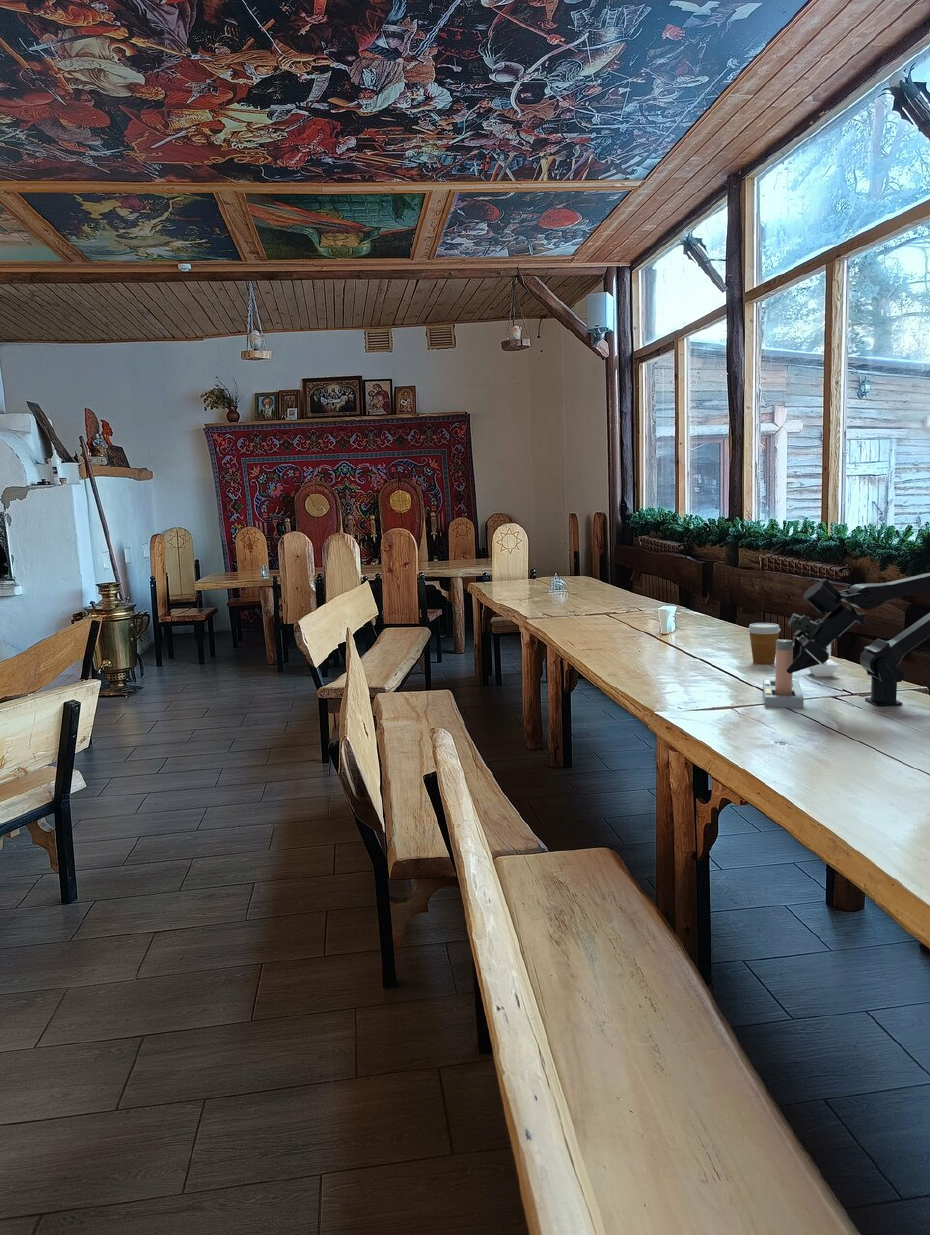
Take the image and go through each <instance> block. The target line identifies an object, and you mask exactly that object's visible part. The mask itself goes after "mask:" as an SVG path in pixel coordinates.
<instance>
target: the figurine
mask: <svg viewBox="0 0 930 1235" xmlns="http://www.w3.org/2000/svg"><path fill="white" fill-rule="evenodd" d="M826 651H827V652H828V653H829V657H831V656H832V643H831V644H830V645H829V646H828V647H827V650H826ZM818 662H819V663H820V665H815V666H812V667H808V668H807V669H808V670H809V671H810V674H811V675H813V676H815V677H819V678H820V677H833V675H834V674H835V672H836V671H837V669H838V667H839V666H840V664H839V663H837V662H835V661H833V660H832V659H828V660H827V661H826V662H825V663H824V664H822V663H821V662H820V661H818Z"/></svg>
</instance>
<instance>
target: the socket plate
mask: <svg viewBox="0 0 930 1235" xmlns="http://www.w3.org/2000/svg"><path fill="white" fill-rule="evenodd" d="M800 684H801V683H800V680H799V679H792V696H783V695H775V678H772V679H771V678H763V680H762V690H763V699H764V700H763V703H764V708H765V707H766V708H791V709H804V707H805V706H804V704H805V702H804V701H805V700H804V699H805V698H804V694H803V691H802V688H801V685H800Z"/></svg>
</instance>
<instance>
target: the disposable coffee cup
mask: <svg viewBox="0 0 930 1235" xmlns="http://www.w3.org/2000/svg"><path fill="white" fill-rule="evenodd" d="M747 630H748V632H749V638H750V647H751V657H752V663H753V664H756V665H763V666H765V665H766V666H767V665H773V664H775V663H776V640H779V634H780V632H781V628H780V625H779V623H778V624H777V623H773V622H755V623H750V624H749V626H748V628H747Z"/></svg>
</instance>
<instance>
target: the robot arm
mask: <svg viewBox="0 0 930 1235" xmlns="http://www.w3.org/2000/svg"><path fill="white" fill-rule="evenodd" d="M928 591H930V572H926V573H922V574H919V575H914V576H909V577H905V578H901V579H900V578H899V579H897V580H893V581H892V580H891V581H887V582H881V583H876V582H875V583H871V582H870V583H857V584H852V585H851V586H850V587H849V589H845V590H844V589H843V590H840V591H838V590H837V589H836V588H835V587H834V586H833V585H832V583H831V582H830V581H829V580H828V579H827V578H826V579H825V578H823V579H821V580H820V581H819V582H816V583H814V584H813V585H812V586H809V587H808V589H807V590H806V591H805V592H804V594H803V599H804V600H805V601H806V602H807V603H809V605H811V606H812V607H813V608H814V609H815V610H817V612H818V613H819V614H824V613H826V615H825V617H823V618H822V619H821V618H818V619H816V620H815V621H813V620H811V617H809V616H805V614H803V615H802V616H801V615H799V614H797V613H795V612H793V613H792V614H791V617H790V619H789V621H788V623H787V625H788V626H789V628H791V629H794V630H795V629H796V631H795V632H794V634H793V663H792V664H791V665H790V666H789V668H788V669H787V670H786V671H787V672H788V673H789V674H791V673H792V674H793V673H795V672H799V671H802V670H805V669H809V668H808V667H812V666H815V665H820V663H819V662H818V661H820V662H821V663H822V664H824V663H825V662H826V661H827V660H830V659H829V658H830V656H829V653H828V652H827V651H826V650H827V647H828V646H829V645H830V644H831V645H832V643H833V642H835V640H836V641H839V640H840V639H841V636H842V634H843V633H845V632H846V631H847V630H848V629H849V628H850V627H852V626H853V624H854V623H857V622H858V623H859V624H860V625H861V626H866V614H865V613H864V612H858V611H857V610H856V609H855V608H858V609H861V610H865V611H871V610H873V609H874V608H878V607H880V606H882V605H884V604H886V603H887V602H889V601H891V600H894V599H899V598H901V597H906V596H911V595H915V594H920V593H924V592H928ZM841 601H842V602H846V603H847V604H850V605H846V606H845V605H844V604H843V603H842V602H841ZM854 607H855V608H854ZM929 637H930V612H928V613H927V614H926V615H924V616H923V617H921V618H919V619H918V620H917V621H916V622H914V623H913V624H911V625H910V626H908V627H906V629H904V630H903V631H901V632H900V633H898V634H897V635H895V636H894V637H893V638H891V639H890V640H883V639H880V638H876V639H875V640H874V641H873V642H871V643H870V645H869V644H868V645H867V646H864V647H863V649H864V650H862V652H861V653H860V655H859V656H860V657H859V663H860V665H861V667H862V668H863V669H865V671H866V674H867V676H870V677H871V678H870V679H871V680H870V681H871V682H870V683H871V684H870V685H871V686H870V696H869V697H867V696H866V697H865V698H864V700H865V701H867V702H869V703H870V704H873V705H874V706H878V707H879V706H901V705H903V704H904V703H903V702H902V701H899V700H897V695H898V694H897V691H898V683H901V682H902V681H903V679H904V676H905V673H904V672H903V671H902V669H899V667H897V666H898V665H900V663H901V661H902V660H903V658H904V656H905V655H906V654H907V653H908V652H911V650H913V649H914V648H915V647H917V646H918V645H920V644H921V643H923V642H924V641H926V640H927V639H928V638H929Z"/></svg>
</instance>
